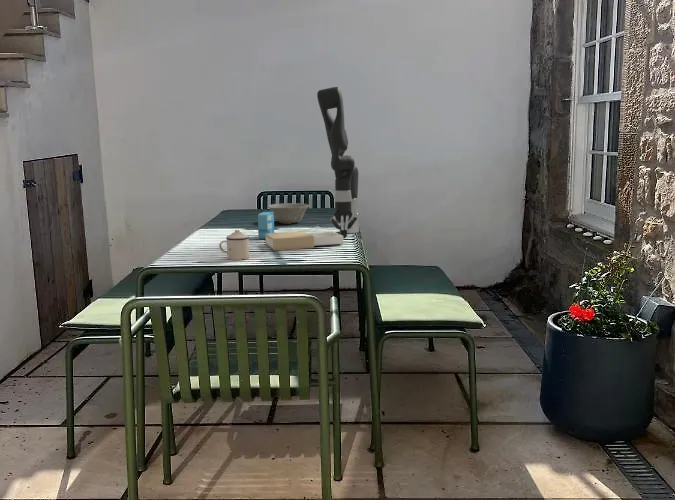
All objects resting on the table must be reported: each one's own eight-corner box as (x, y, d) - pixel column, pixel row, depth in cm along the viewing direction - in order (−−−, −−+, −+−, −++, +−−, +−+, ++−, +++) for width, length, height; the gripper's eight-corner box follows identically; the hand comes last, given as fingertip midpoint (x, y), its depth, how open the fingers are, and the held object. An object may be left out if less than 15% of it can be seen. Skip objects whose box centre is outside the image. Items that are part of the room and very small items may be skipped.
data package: (267, 239, 312) (266, 214, 310) (258, 239, 313) (257, 214, 311) (274, 235, 324) (273, 211, 322) (265, 235, 325) (264, 211, 323)
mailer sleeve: (303, 242, 304) (303, 231, 303) (313, 247, 289) (313, 236, 288) (265, 244, 298) (265, 233, 297) (273, 250, 283) (273, 238, 283)
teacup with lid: (251, 256, 271) (250, 228, 269) (247, 260, 262) (246, 231, 260) (222, 256, 271) (220, 228, 269) (217, 260, 262) (216, 231, 260)
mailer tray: (333, 239, 307) (333, 231, 307) (343, 243, 294) (343, 235, 294) (266, 243, 297) (265, 235, 297) (273, 248, 284) (272, 240, 284)
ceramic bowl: (260, 224, 365) (259, 206, 363) (284, 219, 384) (284, 202, 382) (292, 226, 353) (292, 208, 352) (316, 221, 373) (316, 204, 371)
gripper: (353, 198, 304) (354, 236, 307) (326, 200, 300) (327, 237, 303) (359, 200, 297) (359, 238, 300) (331, 201, 293) (332, 240, 296)
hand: (343, 238), depth 301 cm, fingers closed
